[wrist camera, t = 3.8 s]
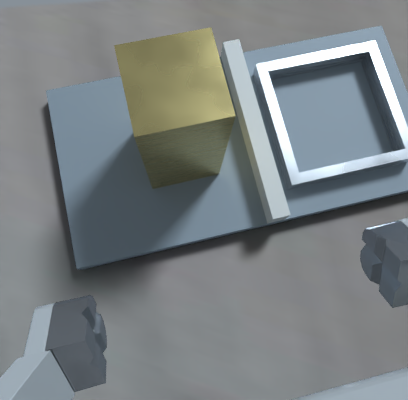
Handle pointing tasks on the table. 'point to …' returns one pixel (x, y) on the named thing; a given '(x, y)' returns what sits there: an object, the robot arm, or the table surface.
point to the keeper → (382, 92)
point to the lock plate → (233, 159)
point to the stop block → (177, 105)
